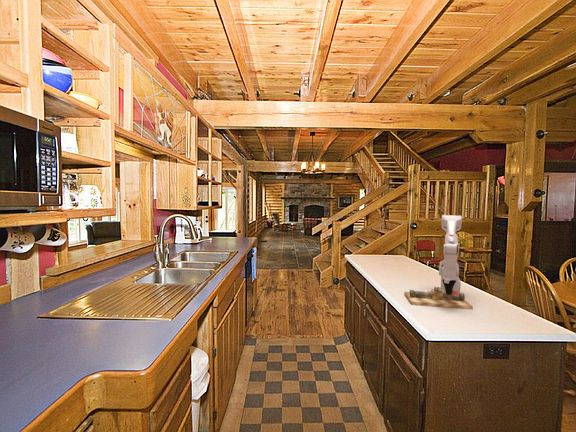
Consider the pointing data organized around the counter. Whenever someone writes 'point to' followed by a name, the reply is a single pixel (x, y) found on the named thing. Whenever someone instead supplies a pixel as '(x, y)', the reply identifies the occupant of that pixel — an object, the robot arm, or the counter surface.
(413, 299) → the valve board
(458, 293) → the valve lever
